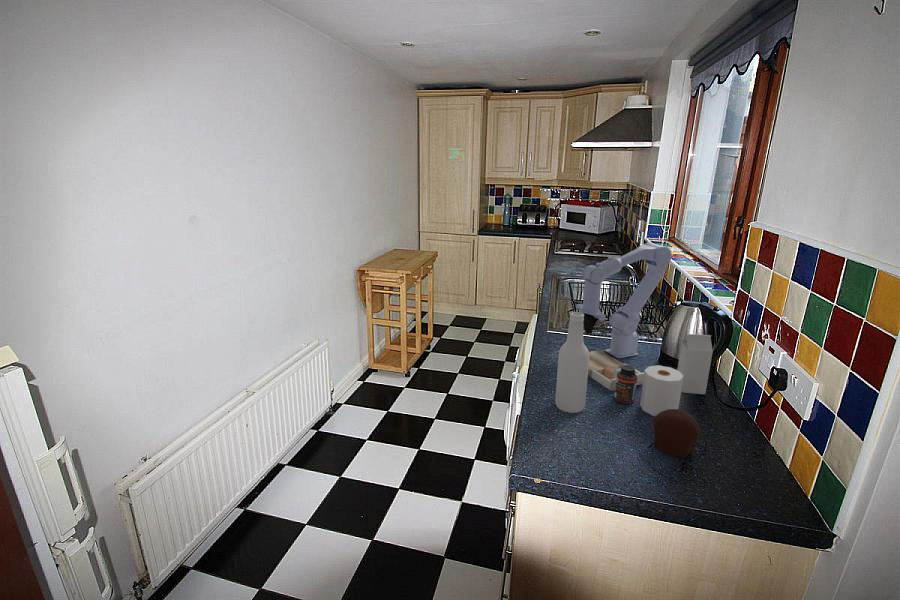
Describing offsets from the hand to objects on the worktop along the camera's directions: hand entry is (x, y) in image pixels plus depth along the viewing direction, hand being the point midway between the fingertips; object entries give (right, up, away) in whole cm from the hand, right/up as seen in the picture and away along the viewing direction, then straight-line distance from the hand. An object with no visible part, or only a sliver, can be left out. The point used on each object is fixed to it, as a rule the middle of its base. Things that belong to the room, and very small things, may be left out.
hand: (588, 332), depth 169 cm
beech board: (+1, -12, -5) cm, 13 cm away
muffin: (+6, -26, -51) cm, 58 cm away
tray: (+5, -15, -16) cm, 22 cm away
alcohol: (-15, -20, -31) cm, 40 cm away
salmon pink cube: (+4, -14, -14) cm, 20 cm away
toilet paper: (+11, -21, -33) cm, 40 cm away
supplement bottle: (+3, -19, -28) cm, 34 cm away
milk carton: (+27, -17, -21) cm, 38 cm away
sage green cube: (+5, -13, -17) cm, 22 cm away
